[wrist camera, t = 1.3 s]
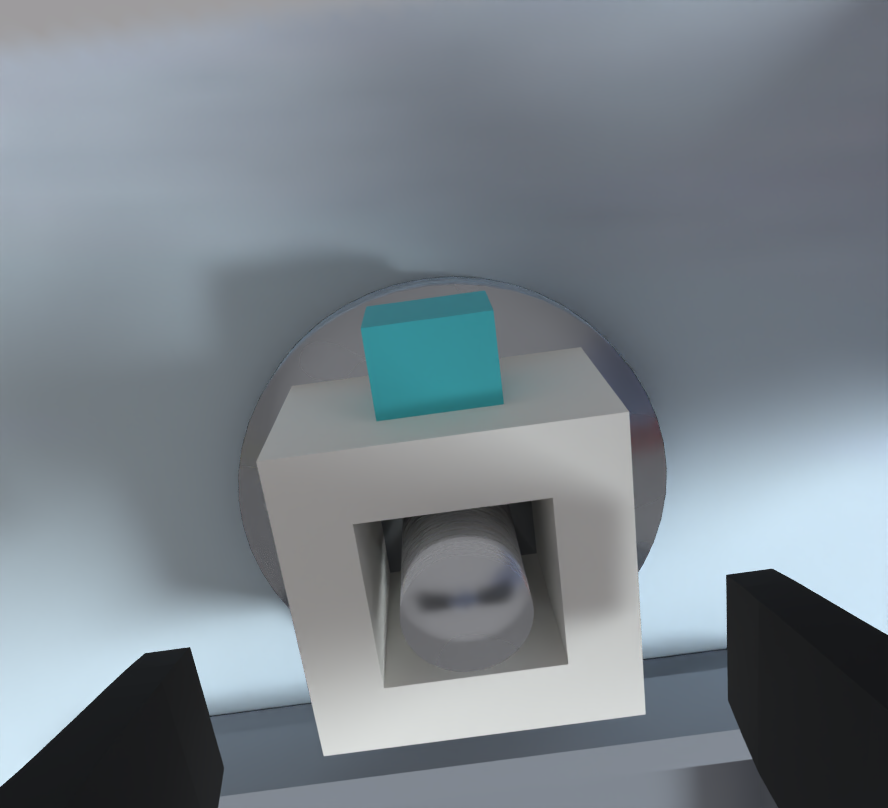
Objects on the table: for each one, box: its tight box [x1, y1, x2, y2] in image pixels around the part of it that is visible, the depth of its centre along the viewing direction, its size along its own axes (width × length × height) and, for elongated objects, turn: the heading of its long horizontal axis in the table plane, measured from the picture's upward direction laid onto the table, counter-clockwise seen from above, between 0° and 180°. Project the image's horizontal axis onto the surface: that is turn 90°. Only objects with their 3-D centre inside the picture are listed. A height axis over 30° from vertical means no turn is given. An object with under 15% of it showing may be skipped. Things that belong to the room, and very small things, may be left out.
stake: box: [238, 277, 666, 672], centre depth 14 cm, size 8×8×5 cm
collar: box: [256, 290, 646, 756], centre depth 14 cm, size 5×7×4 cm
